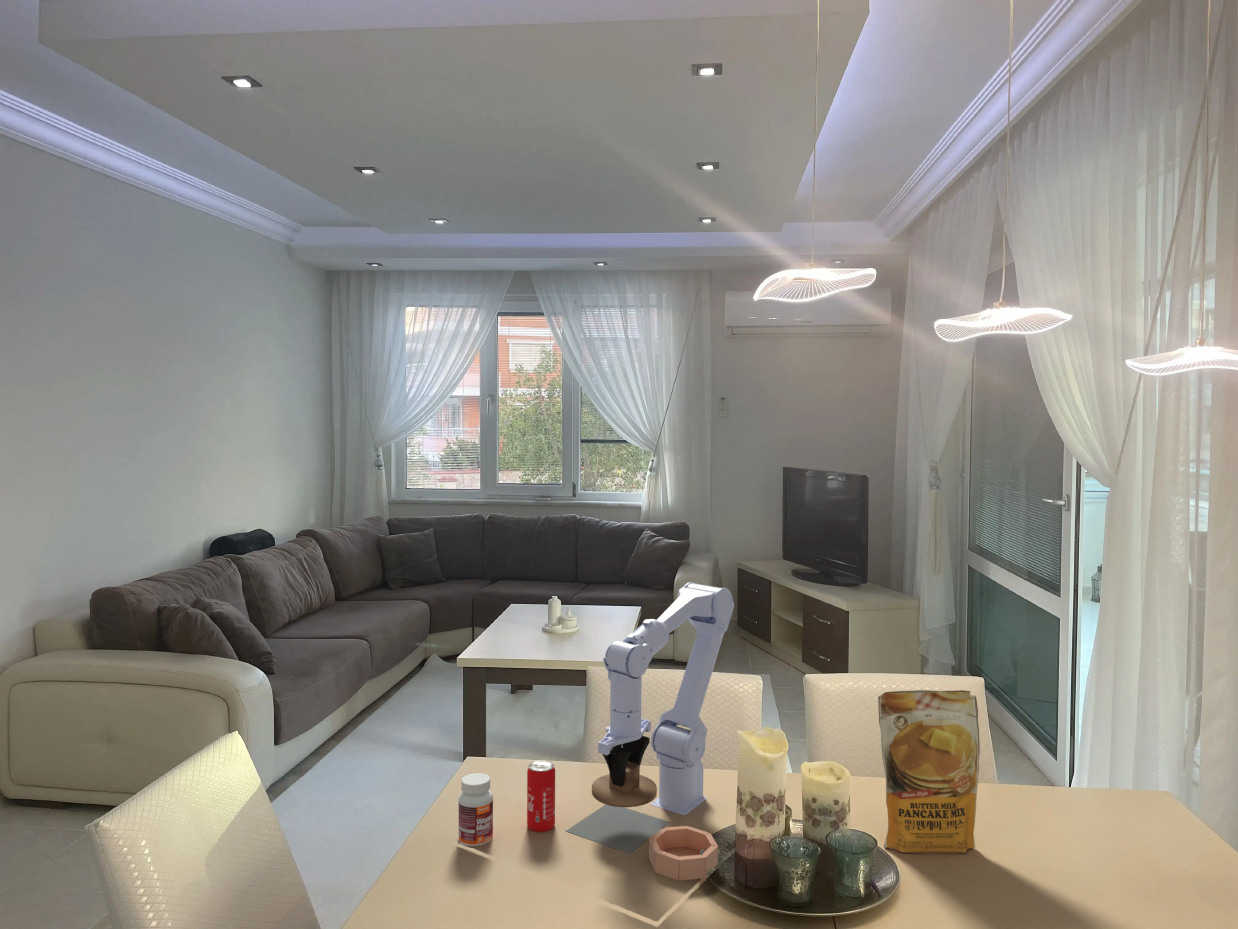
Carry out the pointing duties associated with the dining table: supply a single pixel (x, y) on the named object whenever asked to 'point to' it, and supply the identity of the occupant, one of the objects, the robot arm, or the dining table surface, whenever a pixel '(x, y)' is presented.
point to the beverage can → (541, 796)
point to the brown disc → (625, 789)
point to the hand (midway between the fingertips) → (624, 780)
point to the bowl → (683, 853)
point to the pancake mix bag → (930, 769)
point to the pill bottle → (475, 810)
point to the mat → (618, 827)
